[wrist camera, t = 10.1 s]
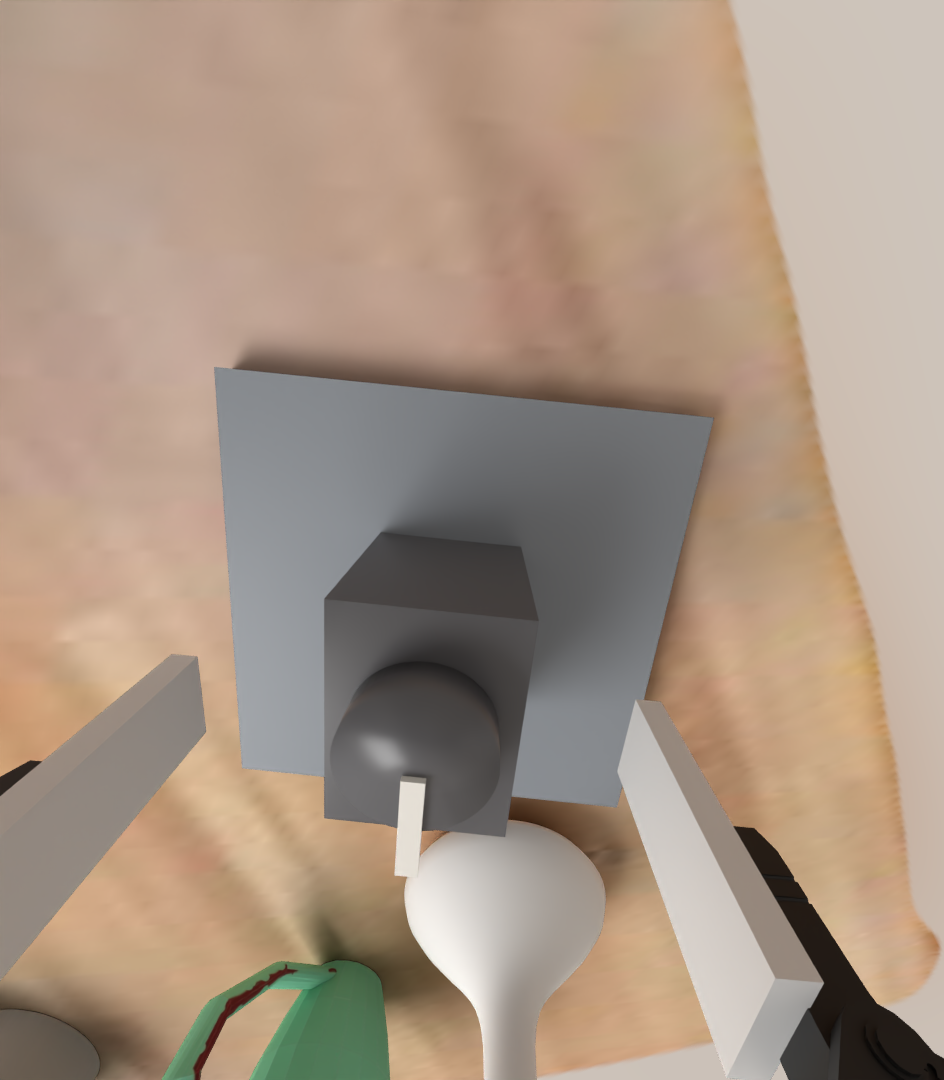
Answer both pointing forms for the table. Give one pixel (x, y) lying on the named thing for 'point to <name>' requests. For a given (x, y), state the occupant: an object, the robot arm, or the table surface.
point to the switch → (457, 514)
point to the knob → (426, 687)
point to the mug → (303, 1025)
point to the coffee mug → (43, 1049)
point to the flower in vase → (506, 928)
